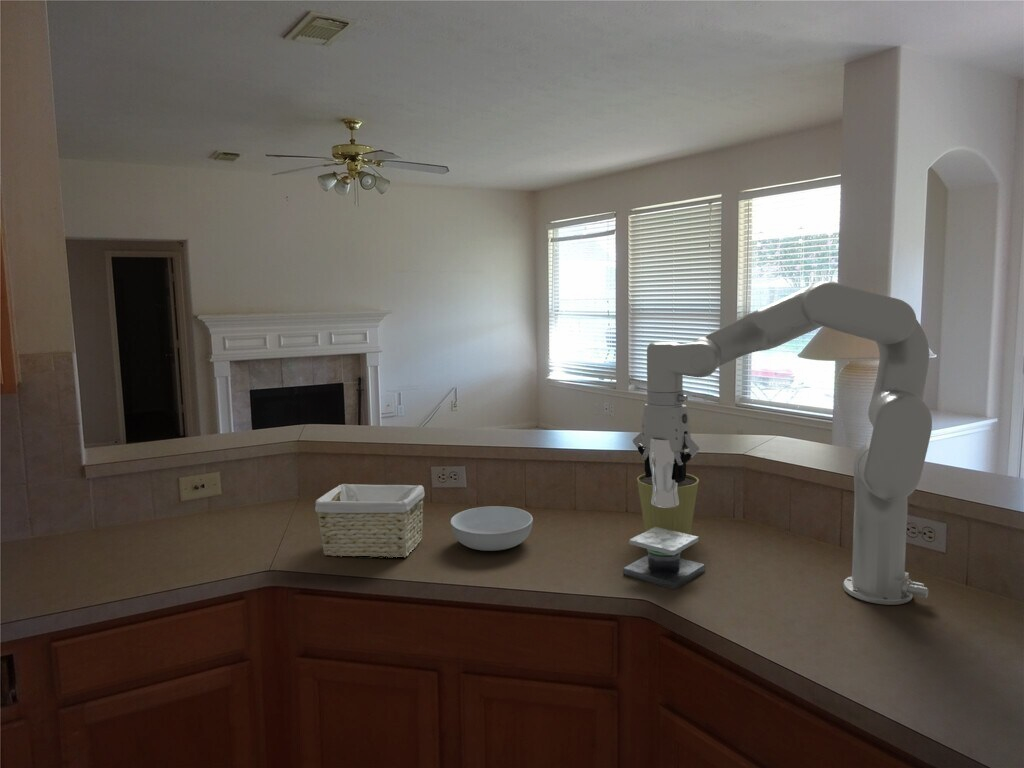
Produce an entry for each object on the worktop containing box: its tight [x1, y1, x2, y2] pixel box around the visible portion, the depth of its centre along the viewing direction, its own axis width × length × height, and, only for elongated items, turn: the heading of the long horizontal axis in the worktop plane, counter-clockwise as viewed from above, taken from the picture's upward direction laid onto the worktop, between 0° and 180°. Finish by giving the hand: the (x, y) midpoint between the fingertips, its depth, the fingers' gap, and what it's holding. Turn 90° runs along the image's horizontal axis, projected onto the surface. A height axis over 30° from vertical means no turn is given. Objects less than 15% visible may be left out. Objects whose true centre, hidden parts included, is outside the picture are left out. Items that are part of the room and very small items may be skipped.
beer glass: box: [649, 438, 681, 508], centre depth 155 cm, size 7×7×15 cm
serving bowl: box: [450, 505, 534, 552], centre depth 179 cm, size 21×21×7 cm
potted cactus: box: [636, 473, 700, 535], centre depth 181 cm, size 15×15×30 cm
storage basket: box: [314, 483, 426, 558], centre depth 179 cm, size 24×16×15 cm
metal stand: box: [622, 527, 706, 591], centre depth 158 cm, size 13×13×8 cm
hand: (665, 478), depth 156 cm, fingers closed on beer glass, 6 cm apart
